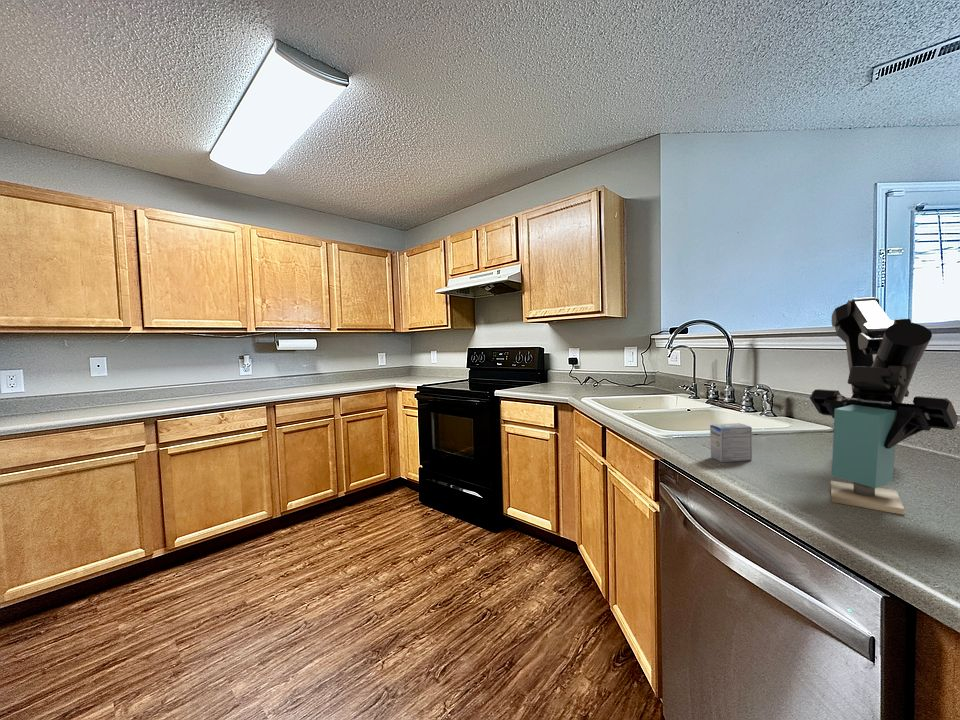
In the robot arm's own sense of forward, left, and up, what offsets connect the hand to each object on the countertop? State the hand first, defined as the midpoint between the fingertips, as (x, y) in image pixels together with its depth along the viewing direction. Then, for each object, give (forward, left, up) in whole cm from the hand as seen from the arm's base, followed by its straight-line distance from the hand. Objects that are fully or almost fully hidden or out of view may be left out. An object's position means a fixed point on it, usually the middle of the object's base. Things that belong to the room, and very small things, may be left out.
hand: (861, 443), depth 70 cm
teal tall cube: (-1, 0, -7) cm, 7 cm away
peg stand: (-1, 0, -10) cm, 11 cm away
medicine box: (-15, -23, -11) cm, 29 cm away
